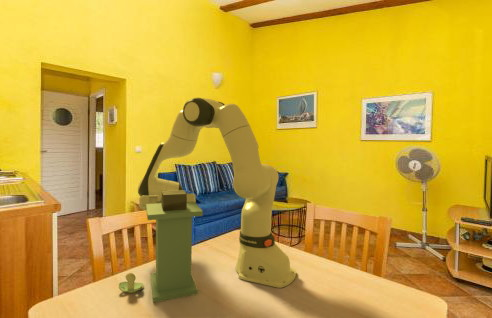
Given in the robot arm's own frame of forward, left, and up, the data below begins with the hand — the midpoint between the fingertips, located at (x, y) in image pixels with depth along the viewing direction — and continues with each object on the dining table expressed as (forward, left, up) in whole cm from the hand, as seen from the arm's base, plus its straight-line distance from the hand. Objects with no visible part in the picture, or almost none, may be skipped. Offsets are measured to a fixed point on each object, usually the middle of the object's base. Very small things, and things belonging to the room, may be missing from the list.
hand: (169, 195), depth 97 cm
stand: (-9, +6, -28) cm, 30 cm away
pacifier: (0, +15, -28) cm, 32 cm away
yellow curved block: (-4, +3, -2) cm, 6 cm away
